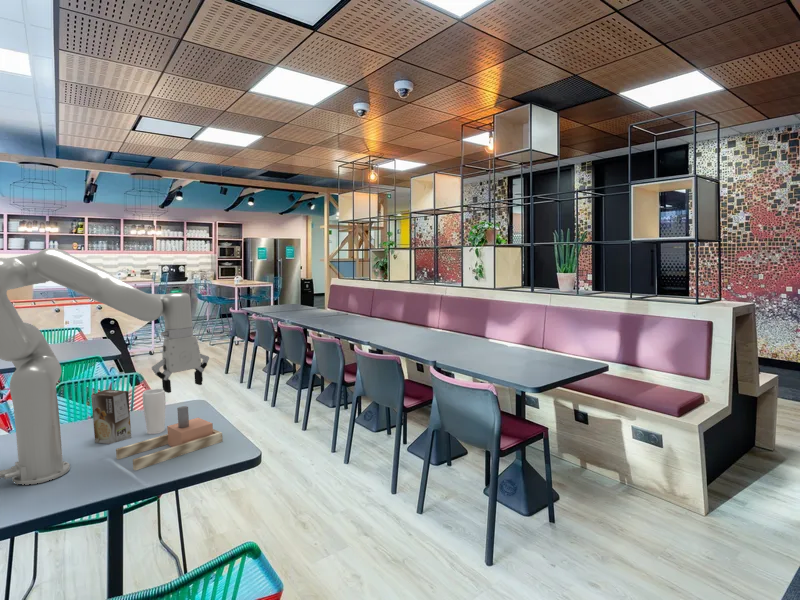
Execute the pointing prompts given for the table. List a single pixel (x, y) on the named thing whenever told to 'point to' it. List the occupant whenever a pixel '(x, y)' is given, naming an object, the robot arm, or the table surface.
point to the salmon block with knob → (187, 428)
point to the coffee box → (111, 416)
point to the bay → (165, 453)
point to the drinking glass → (154, 410)
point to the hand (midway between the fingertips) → (183, 388)
